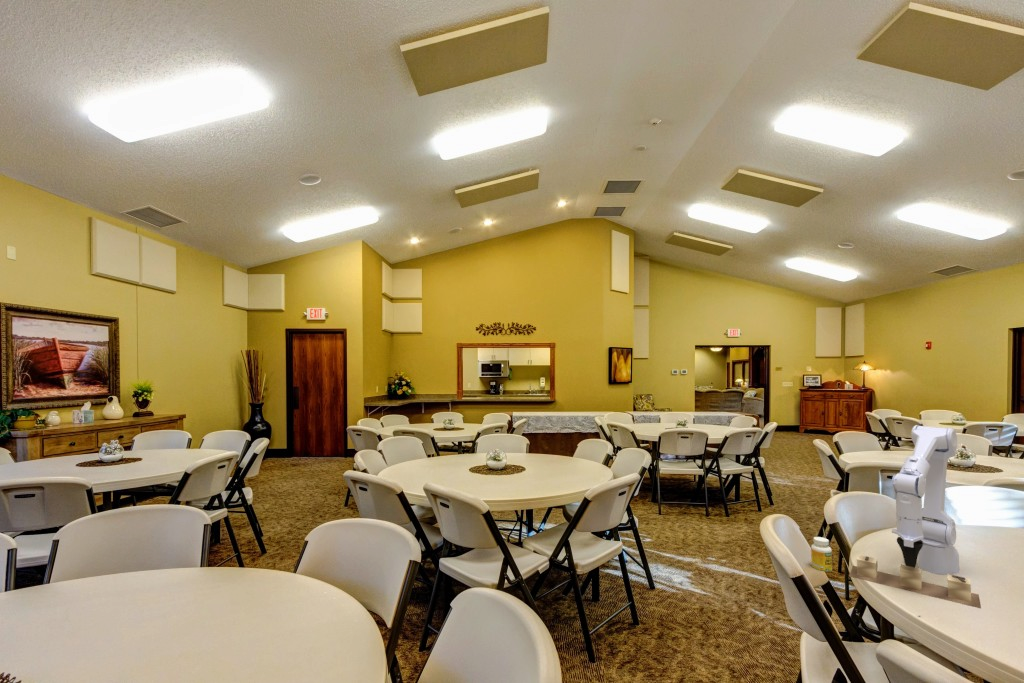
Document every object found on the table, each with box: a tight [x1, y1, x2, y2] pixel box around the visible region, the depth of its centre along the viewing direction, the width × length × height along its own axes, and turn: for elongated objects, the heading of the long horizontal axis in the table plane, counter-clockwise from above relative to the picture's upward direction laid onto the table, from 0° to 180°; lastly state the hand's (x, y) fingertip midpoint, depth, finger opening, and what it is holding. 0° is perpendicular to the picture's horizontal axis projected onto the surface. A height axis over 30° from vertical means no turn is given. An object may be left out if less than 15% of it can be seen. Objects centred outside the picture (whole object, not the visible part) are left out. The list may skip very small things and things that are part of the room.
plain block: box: [899, 563, 923, 590], centre depth 137 cm, size 4×4×4 cm
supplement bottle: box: [810, 536, 833, 572], centre depth 148 cm, size 5×5×10 cm
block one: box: [856, 554, 878, 579], centre depth 143 cm, size 4×4×5 cm
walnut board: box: [848, 565, 982, 609], centre depth 137 cm, size 28×10×1 cm, turn 49°
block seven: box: [946, 574, 972, 602], centre depth 130 cm, size 4×4×5 cm
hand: (910, 565), depth 137 cm, fingers closed
